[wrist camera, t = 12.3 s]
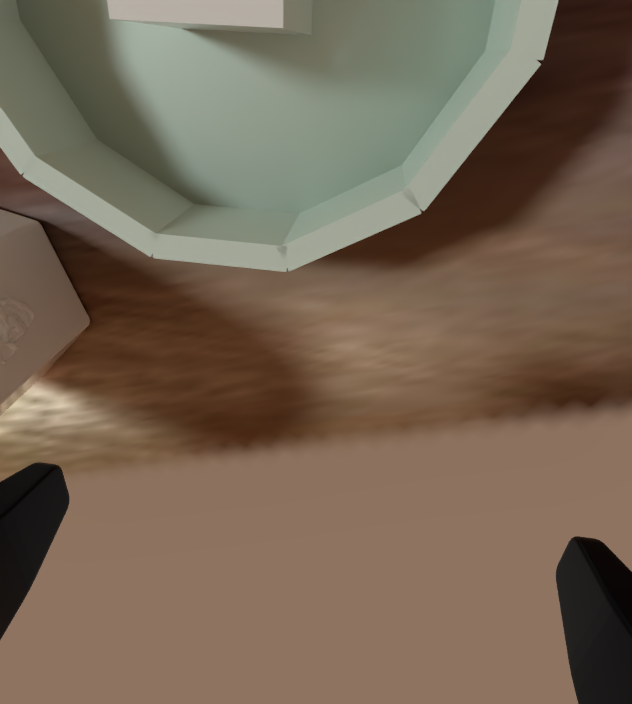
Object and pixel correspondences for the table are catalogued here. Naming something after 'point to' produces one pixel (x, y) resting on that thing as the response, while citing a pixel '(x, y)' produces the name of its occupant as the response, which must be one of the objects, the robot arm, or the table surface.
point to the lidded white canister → (32, 307)
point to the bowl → (258, 119)
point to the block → (219, 14)
